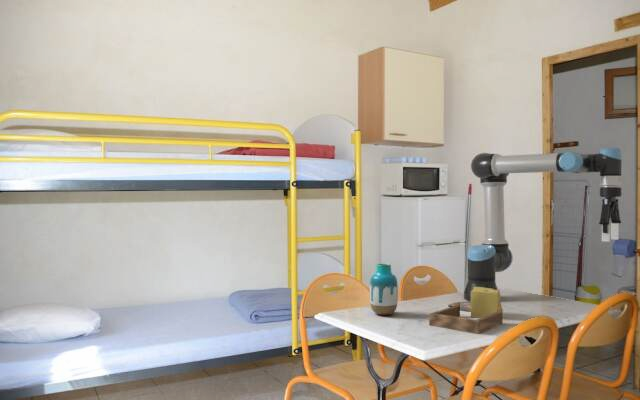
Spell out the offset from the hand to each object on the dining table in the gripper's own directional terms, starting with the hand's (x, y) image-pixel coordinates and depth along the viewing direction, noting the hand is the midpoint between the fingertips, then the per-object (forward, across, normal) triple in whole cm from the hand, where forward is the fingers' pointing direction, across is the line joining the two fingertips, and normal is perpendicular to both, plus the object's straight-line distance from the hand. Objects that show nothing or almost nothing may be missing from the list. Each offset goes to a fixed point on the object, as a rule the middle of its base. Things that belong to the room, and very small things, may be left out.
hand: (610, 240), depth 211 cm
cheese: (+28, -42, +32) cm, 60 cm away
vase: (+28, -66, +63) cm, 95 cm away
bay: (+28, -59, +32) cm, 73 cm away
